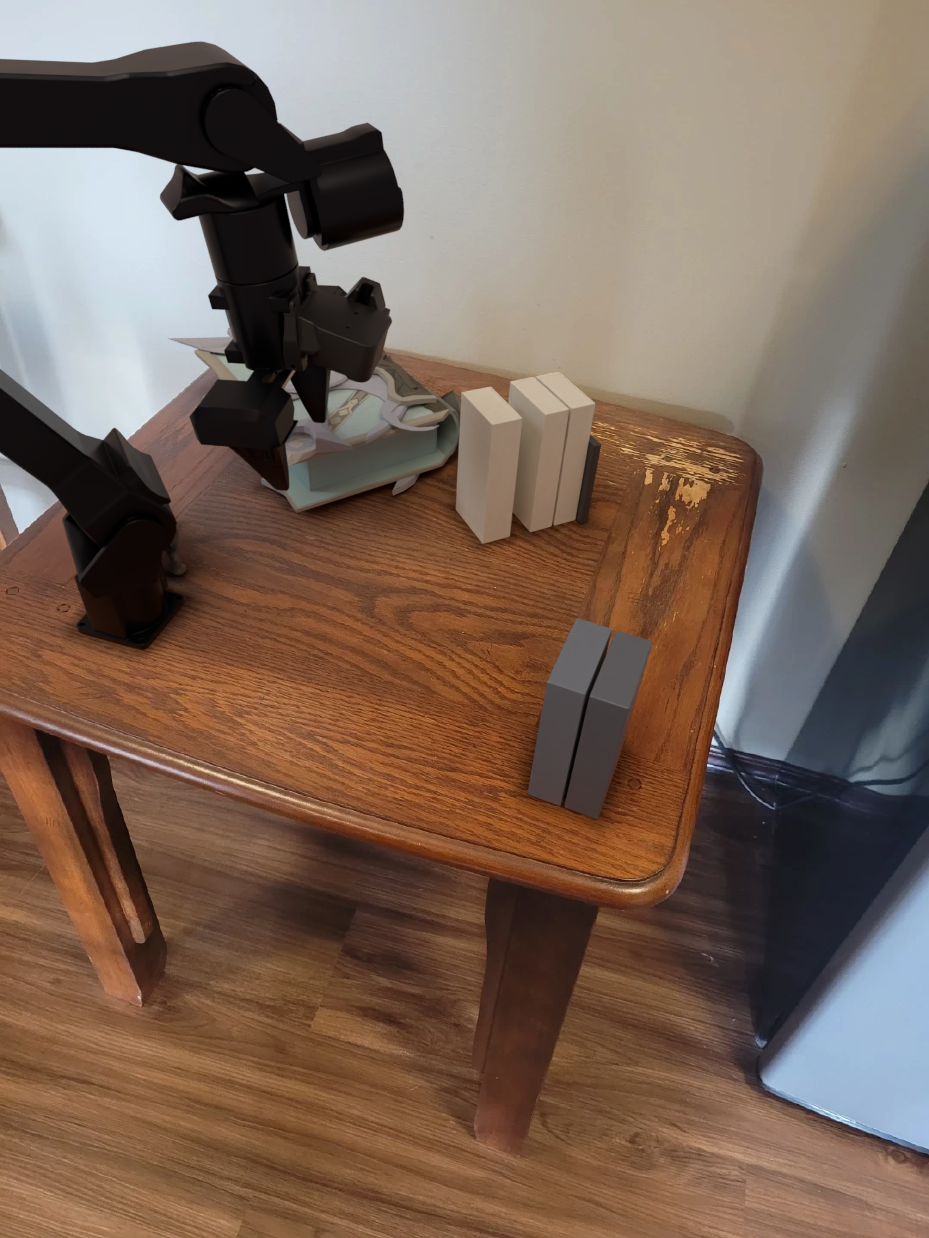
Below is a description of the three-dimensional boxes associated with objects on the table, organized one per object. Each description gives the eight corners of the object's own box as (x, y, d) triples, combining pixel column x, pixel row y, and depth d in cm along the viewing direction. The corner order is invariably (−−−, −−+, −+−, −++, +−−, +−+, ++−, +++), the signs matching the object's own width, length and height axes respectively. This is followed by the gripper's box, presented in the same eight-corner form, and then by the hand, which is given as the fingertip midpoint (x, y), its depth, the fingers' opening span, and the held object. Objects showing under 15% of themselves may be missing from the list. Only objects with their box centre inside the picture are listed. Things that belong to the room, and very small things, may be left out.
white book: (482, 544, 81) (492, 424, 72) (455, 509, 85) (461, 392, 76) (510, 536, 82) (523, 418, 73) (481, 503, 86) (490, 386, 77)
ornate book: (481, 479, 91) (348, 354, 107) (489, 400, 84) (346, 279, 100) (286, 546, 81) (173, 397, 98) (277, 462, 74) (158, 317, 91)
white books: (534, 537, 82) (550, 419, 73) (495, 493, 87) (505, 377, 78) (587, 522, 84) (608, 405, 76) (546, 480, 90) (562, 365, 81)
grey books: (527, 794, 61) (546, 681, 52) (554, 730, 65) (576, 617, 57) (597, 820, 59) (629, 709, 51) (620, 753, 64) (653, 640, 56)
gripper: (325, 342, 50) (363, 539, 62) (404, 213, 63) (424, 397, 74) (154, 333, 52) (222, 525, 64) (263, 209, 65) (304, 389, 76)
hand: (302, 454), depth 69 cm, fingers open, 9 cm apart
